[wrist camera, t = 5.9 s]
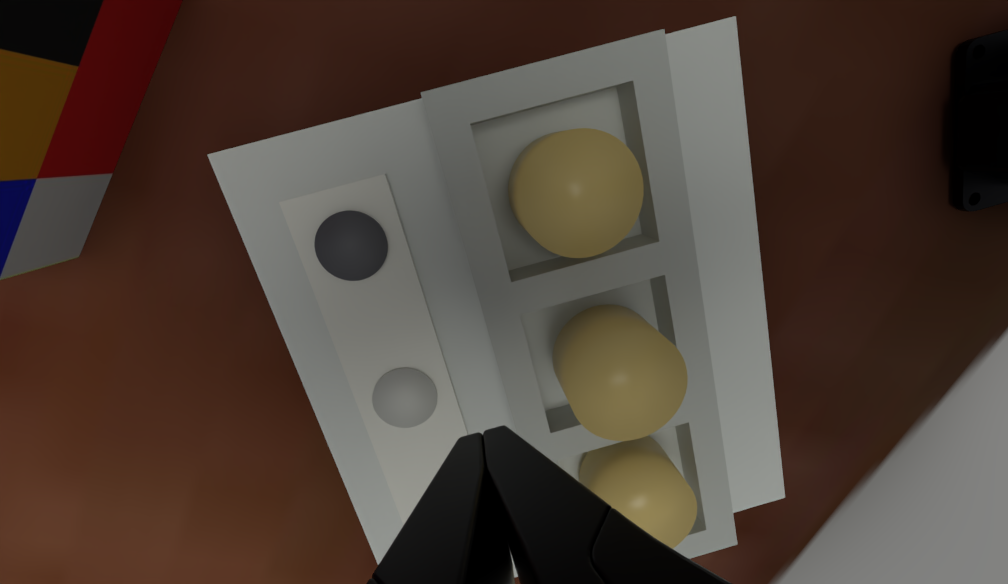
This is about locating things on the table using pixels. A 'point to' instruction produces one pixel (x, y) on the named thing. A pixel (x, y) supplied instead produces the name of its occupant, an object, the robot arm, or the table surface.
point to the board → (517, 272)
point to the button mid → (618, 373)
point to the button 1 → (576, 191)
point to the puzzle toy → (67, 115)
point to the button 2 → (642, 487)
